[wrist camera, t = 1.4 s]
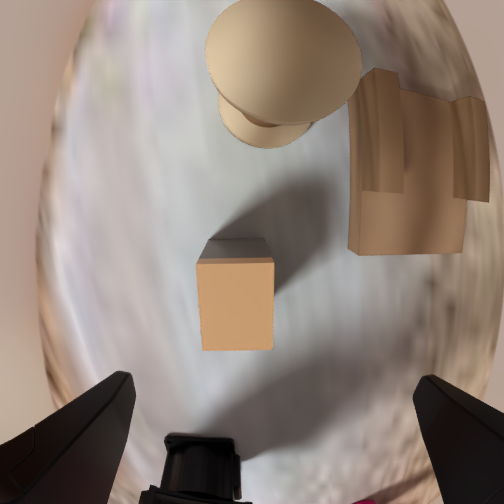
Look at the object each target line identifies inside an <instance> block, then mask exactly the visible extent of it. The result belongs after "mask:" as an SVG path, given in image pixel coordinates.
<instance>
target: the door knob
mask: <svg viewBox="0 0 504 504" xmlns="http://www.w3.org/2000/svg"><path fill="white" fill-rule="evenodd" d="M205 56H206V62H207V66H208V70H209V74H210V76H211V79H212V81H213V83H214V85H215V87H216V89H217V90H218V91H219V98H218V105H219V111H220V115H221V118H222V120H223V122H224V124H225V126H226V127H227V129H228V130H229V131H230V132H231V133H232V134H233V135H234V136H235V137H236V138H237V139H239V140H240V141H242V142H244V143H246V144H248V145H251V146H254V147H259V148H277V147H281V146H284V145H287V144H289V143H291V142H293V141H294V140H296V139H297V138H299V137H300V136H301V135H302V134H303V133H304V132H305V131H306V130H307V129H308V127H309V126H310V124H311V122H315V121H317V120H320V119H322V118H324V117H326V116H328V115H330V114H331V113H333V112H334V111H336V110H337V109H338V108H340V107H341V106H342V105H343V104H345V103H346V102H347V101H348V100H349V99H350V97H351V96H352V95H353V93H354V92H355V90H356V88H357V86H358V84H359V81H360V78H361V73H362V56H361V51H360V48H359V45H358V42H357V40H356V38H355V36H354V34H353V33H352V31H351V30H350V28H349V27H348V25H347V24H346V23H345V22H344V21H343V20H342V19H341V18H340V17H339V16H338V15H337V14H336V13H334V12H333V11H332V10H330V9H329V8H328V7H326V6H324V5H322V4H321V3H319V2H317V1H314V0H240V1H238V2H236V3H234V4H233V5H231V6H229V7H228V8H227V9H226V10H224V11H223V12H222V13H221V14H220V15H219V16H218V17H217V19H216V20H215V22H214V23H213V25H212V26H211V29H210V31H209V33H208V36H207V39H206V46H205Z"/></svg>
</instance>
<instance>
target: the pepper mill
mask: <svg viewBox="0 0 504 504" xmlns="http://www.w3.org/2000/svg"><path fill="white" fill-rule="evenodd" d="M354 504H376V503H375V502H374V501H371V500H366V501H361V502H357V503H354Z"/></svg>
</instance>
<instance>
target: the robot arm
mask: <svg viewBox="0 0 504 504" xmlns="http://www.w3.org/2000/svg"><path fill="white" fill-rule="evenodd" d="M135 400H136V391H135V386H134V382H133V377H132V375H131V373H129V372H124V371H116V372H115V373H113V374H112V375H110V376H109V377H107V378H106V379H104V380H103V381H101V382H100V383H98V384H97V385H95V386H94V387H92V388H91V389H89V390H88V391H86V392H85V393H83V394H82V395H80V396H79V397H77V398H76V399H74V400H73V401H71V402H70V403H68V404H67V405H65V406H64V407H62V408H61V409H59V410H57V411H56V412H54V413H53V414H51V415H50V416H48V417H47V418H45V419H44V420H42V421H41V422H39V423H37V424H36V425H35V426H34V427H31V428H29V429H28V430H26V431H25V432H23V433H22V434H20V435H18V436H17V437H15V438H13V439H12V440H9V441H7V442H5V443H4V444H1V445H0V504H107V502H108V499H109V495H110V492H111V489H112V486H113V482H114V479H115V476H116V473H117V470H118V467H119V464H120V460H121V457H122V454H123V451H124V448H125V445H126V442H127V438H128V433H129V428H130V423H131V419H132V414H133V409H134V405H135ZM413 403H414V406H415V410H416V414H417V418H418V422H419V426H420V430H421V433H422V437H423V440H424V443H425V446H426V449H427V451H428V454H429V457H430V460H431V463H432V466H433V469H434V473H435V476H436V479H437V482H438V485H439V489H440V492H441V495H442V499H443V502H444V504H504V413H502V412H500V411H498V410H497V409H495V408H493V407H491V406H489V405H487V404H486V403H484V402H482V401H480V400H479V399H477V398H475V397H473V396H471V395H470V394H468V393H466V392H464V391H462V390H461V389H459V388H457V387H455V386H453V385H452V384H450V383H448V382H446V381H444V380H443V379H441V378H439V377H437V376H436V375H433V374H431V375H425V376H423V377H422V378H421V379H420V381H419V383H418V385H417V387H416V389H415V391H414V393H413ZM164 443H165V446H166V449H167V457H166V461H165V466H164V471H163V475H162V480H161V485H160V488H158V487H157V486H154V485H150V488H149V490H147V491H142V492H141V496H140V500H139V504H253V503H252V502H236V501H235V500H240V499H241V498H242V491H241V463H240V456H239V455H238V454H235V445H234V440H232V439H216V438H189V437H175V436H166V437H165V439H164Z"/></svg>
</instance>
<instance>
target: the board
mask: <svg viewBox="0 0 504 504" xmlns="http://www.w3.org/2000/svg"><path fill="white" fill-rule="evenodd" d="M348 107H349V130H350V215H349V238H348V249H349V250H351V251H352V252H354V253H355V254H357V255H358V256H368V255H408V254H446V253H462V250H463V241H464V231H465V219H466V203H467V200H473V201H481V202H488V203H489V192H490V159H489V139H488V126H487V116H486V108H485V102H484V101H482V100H480V99H477V98H475V97H472V96H469V97H465V98H462V99H458V100H455V101H452V102H447V101H444V100H441V99H437V98H434V97H430V96H427V95H423V94H419V93H416V92H412V91H407V90H403V89H400V88H399V80H398V73H396V72H392V71H387V70H383V69H378V68H374V69H372V70H371V71H370V72H368V73H367V74H366V75H365V76H363V77H362V78H361V79H360V81H359V84H358V86H357V88H356V90H355V92H354V93H353V95H352V96H351V97H350V99H349V100H348Z"/></svg>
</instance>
